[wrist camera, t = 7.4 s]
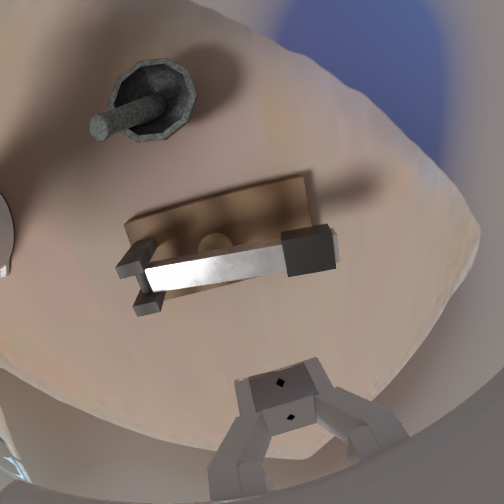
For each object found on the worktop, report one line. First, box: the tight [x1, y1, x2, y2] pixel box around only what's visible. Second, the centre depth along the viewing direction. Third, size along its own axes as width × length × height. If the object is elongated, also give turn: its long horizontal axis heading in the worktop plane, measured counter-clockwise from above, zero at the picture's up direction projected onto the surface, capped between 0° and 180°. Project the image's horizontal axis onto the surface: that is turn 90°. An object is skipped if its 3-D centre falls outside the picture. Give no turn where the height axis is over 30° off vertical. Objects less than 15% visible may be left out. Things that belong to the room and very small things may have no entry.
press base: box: [115, 175, 312, 317], centre depth 33 cm, size 24×12×10 cm, turn 103°
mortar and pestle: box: [89, 58, 197, 142], centre depth 25 cm, size 11×9×12 cm
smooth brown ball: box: [198, 233, 233, 253], centre depth 34 cm, size 4×4×4 cm
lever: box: [145, 224, 340, 292], centre depth 29 cm, size 21×4×3 cm, turn 103°
